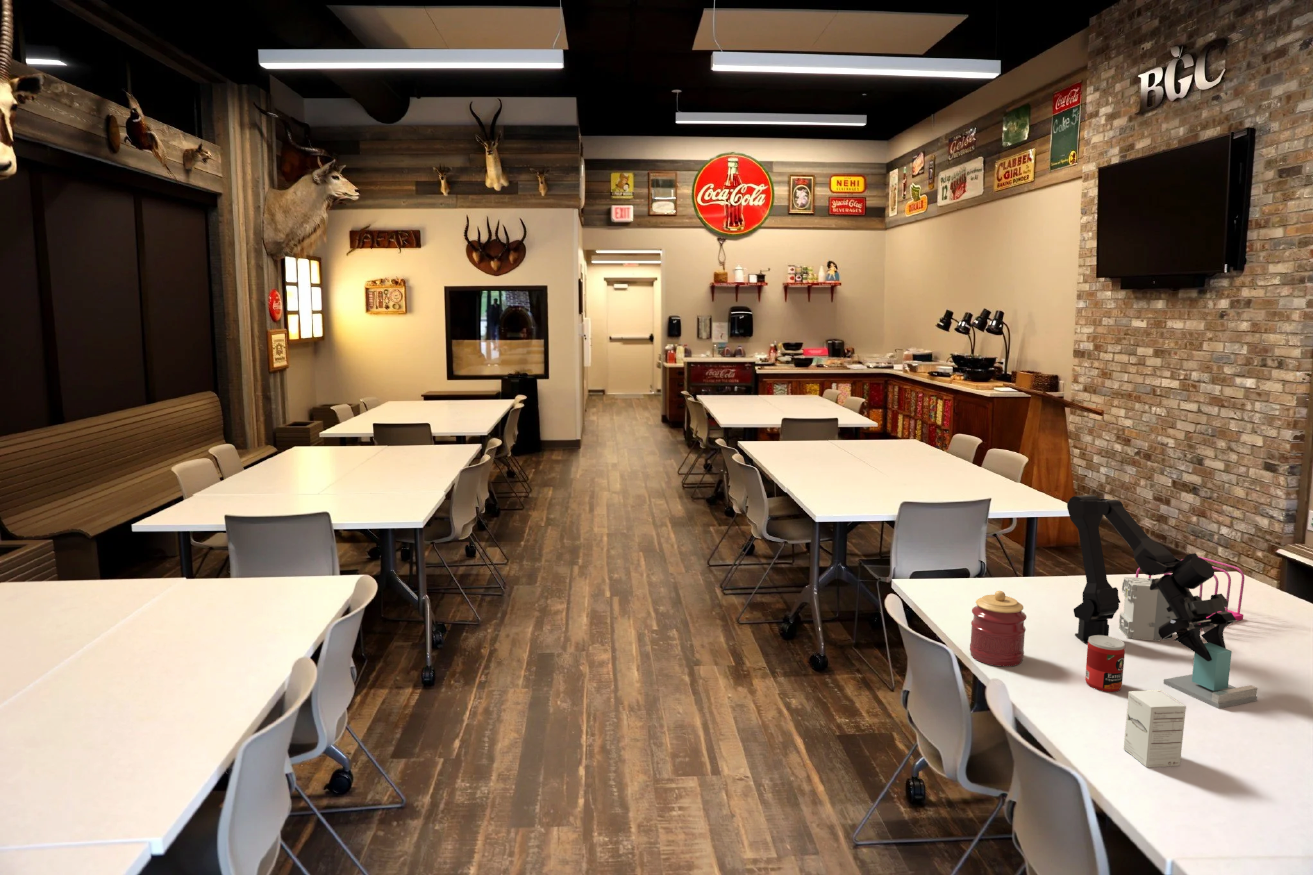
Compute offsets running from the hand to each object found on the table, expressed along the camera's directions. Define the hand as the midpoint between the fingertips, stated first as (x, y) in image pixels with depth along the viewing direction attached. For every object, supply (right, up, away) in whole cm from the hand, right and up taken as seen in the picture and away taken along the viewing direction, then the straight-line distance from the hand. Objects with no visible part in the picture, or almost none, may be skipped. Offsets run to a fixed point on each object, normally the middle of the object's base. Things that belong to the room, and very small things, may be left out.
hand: (1217, 659), depth 199 cm
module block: (0, -7, +2) cm, 7 cm away
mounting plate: (0, -8, +2) cm, 9 cm away
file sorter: (+25, -1, +53) cm, 58 cm away
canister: (-42, -6, +23) cm, 48 cm away
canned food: (-23, -8, +6) cm, 25 cm away
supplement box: (-31, -13, -28) cm, 43 cm away
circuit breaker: (+6, -3, +38) cm, 39 cm away
